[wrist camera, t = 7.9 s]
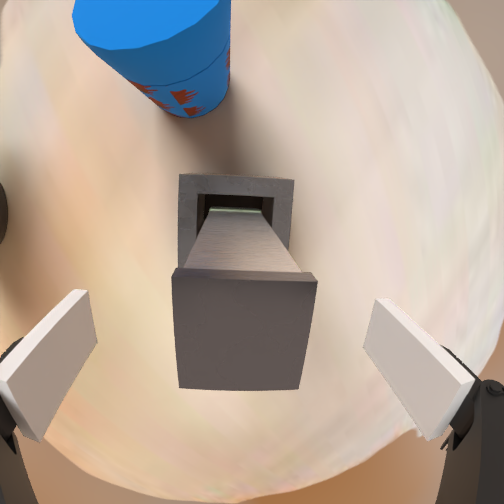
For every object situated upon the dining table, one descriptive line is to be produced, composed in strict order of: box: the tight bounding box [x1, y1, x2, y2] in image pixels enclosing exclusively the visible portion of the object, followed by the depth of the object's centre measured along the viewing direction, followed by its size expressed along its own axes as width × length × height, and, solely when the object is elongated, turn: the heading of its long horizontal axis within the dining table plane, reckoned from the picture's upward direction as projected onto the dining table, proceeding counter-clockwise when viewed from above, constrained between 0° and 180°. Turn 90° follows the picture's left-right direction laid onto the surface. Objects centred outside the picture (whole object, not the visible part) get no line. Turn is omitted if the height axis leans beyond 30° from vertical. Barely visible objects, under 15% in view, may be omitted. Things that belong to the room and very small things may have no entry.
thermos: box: [72, 0, 231, 118], centre depth 23 cm, size 11×11×25 cm
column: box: [171, 206, 318, 391], centre depth 22 cm, size 5×6×22 cm
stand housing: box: [178, 173, 294, 268], centre depth 35 cm, size 12×12×11 cm
